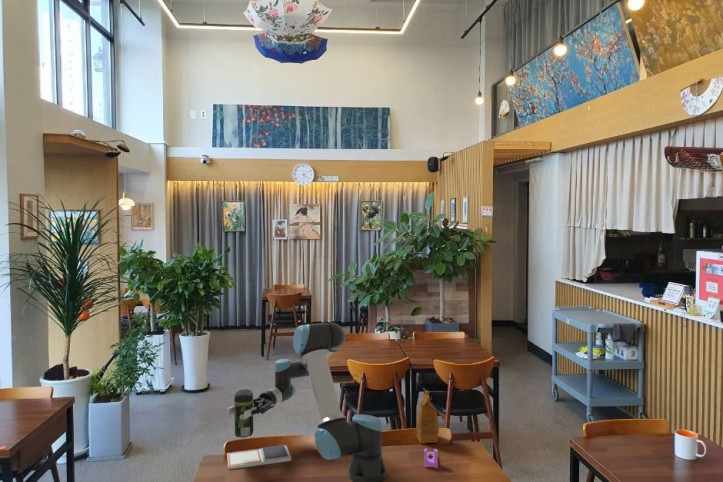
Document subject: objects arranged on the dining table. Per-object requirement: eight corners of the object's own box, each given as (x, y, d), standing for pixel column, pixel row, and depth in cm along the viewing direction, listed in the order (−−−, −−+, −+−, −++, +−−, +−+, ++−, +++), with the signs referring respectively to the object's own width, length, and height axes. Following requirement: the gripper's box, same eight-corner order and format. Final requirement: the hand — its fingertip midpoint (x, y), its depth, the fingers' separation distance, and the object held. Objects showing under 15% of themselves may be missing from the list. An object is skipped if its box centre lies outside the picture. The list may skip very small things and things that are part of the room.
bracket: (437, 468, 207) (437, 451, 207) (424, 467, 208) (423, 450, 208) (436, 455, 220) (436, 439, 220) (424, 454, 221) (423, 438, 221)
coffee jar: (235, 430, 221) (235, 388, 221) (253, 429, 222) (253, 387, 222) (233, 439, 211) (233, 394, 211) (252, 437, 213) (252, 393, 213)
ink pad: (289, 457, 216) (289, 455, 216) (263, 461, 212) (263, 458, 212) (285, 446, 228) (285, 444, 228) (260, 449, 225) (260, 447, 225)
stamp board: (291, 460, 215) (291, 457, 215) (228, 469, 208) (228, 466, 208) (286, 448, 229) (286, 445, 229) (227, 455, 221) (227, 452, 221)
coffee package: (437, 434, 243) (436, 389, 243) (439, 445, 231) (438, 397, 231) (416, 434, 244) (415, 389, 244) (417, 444, 231) (417, 396, 231)
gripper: (289, 410, 228) (256, 426, 208) (252, 403, 238) (217, 418, 218) (288, 393, 228) (256, 408, 208) (251, 387, 238) (217, 400, 218)
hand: (236, 413), depth 213 cm, fingers closed on coffee jar, 9 cm apart
